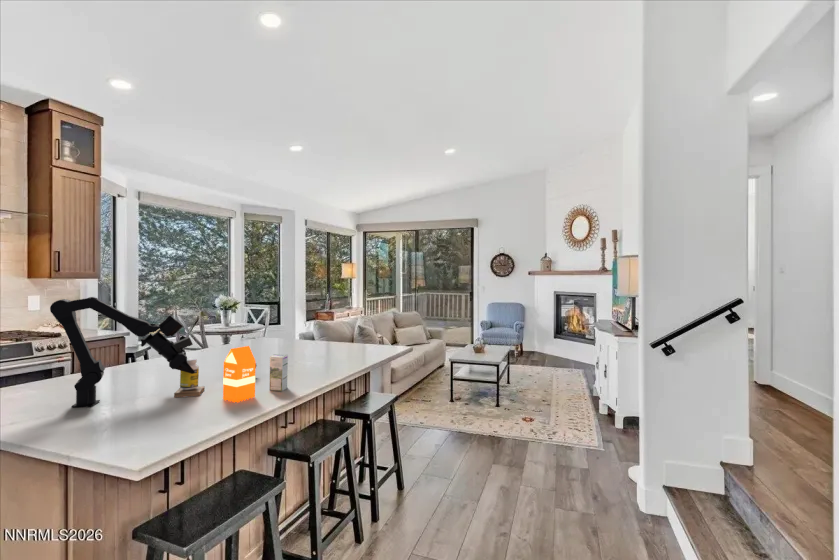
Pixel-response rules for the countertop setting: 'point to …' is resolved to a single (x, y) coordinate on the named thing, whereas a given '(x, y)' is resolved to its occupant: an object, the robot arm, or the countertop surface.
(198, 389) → the base tile
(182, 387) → the pill bottle
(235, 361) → the orange juice
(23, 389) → the countertop surface
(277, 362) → the syrup box
